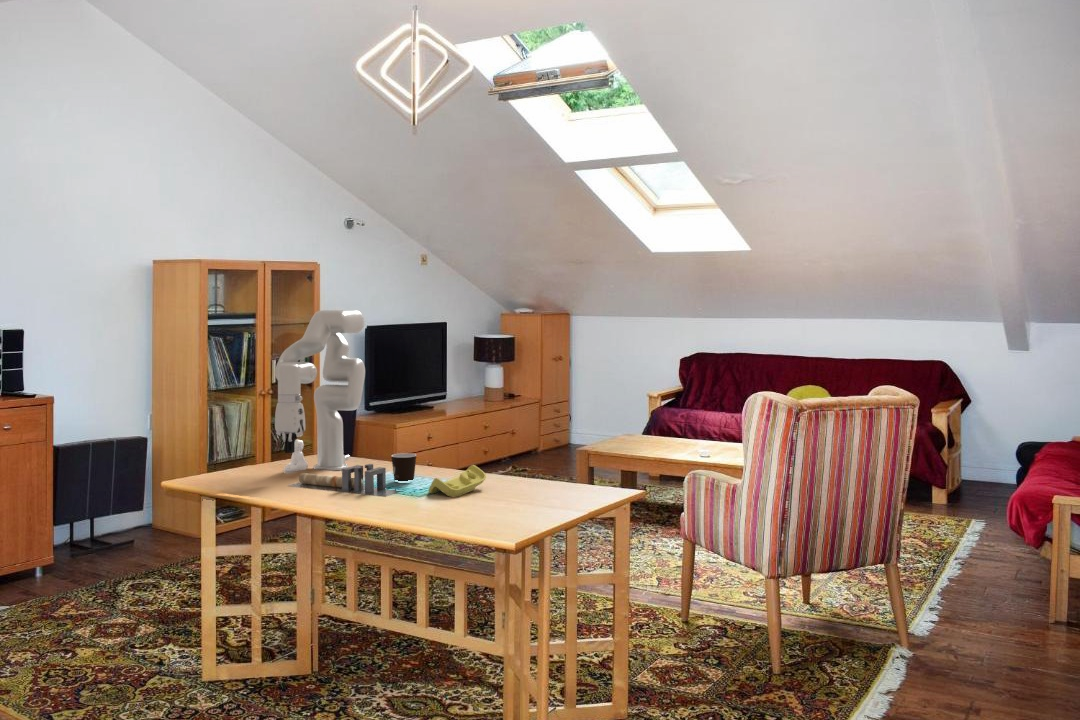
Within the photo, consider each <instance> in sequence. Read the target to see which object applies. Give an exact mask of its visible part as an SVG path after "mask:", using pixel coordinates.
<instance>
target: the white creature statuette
mask: <svg viewBox="0 0 1080 720" xmlns="http://www.w3.org/2000/svg"><path fill="white" fill-rule="evenodd" d="M304 447H305V444H304V441H303V440H301V439H298V438H297V439H296V441H295V449H294V453H291V454H292V455H291V459H290V462H288V464H285V465H284V468H283V473H284V474H285V473H288V474H292V473H295V472H299V471H305V470H307V469H308V468H309V463H308V461H307V460H306V459H305V457H304V452H303V449H304Z"/></svg>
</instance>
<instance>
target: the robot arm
mask: <svg viewBox="0 0 1080 720" xmlns="http://www.w3.org/2000/svg"><path fill="white" fill-rule="evenodd" d="M364 327H365V317H364V315H363V314H362V312H361V311H359V310H339V309H337V310H336V309H335V310H334V309H333V310H332V309H331V310H329V309H327V310H326V309H325V310H324V309H323V310H318V311H316V312H315V313H314V314H313V315H312V317H311V319H310V321H309V324H307V327H306V330H305V332H304V334H303V336H302V337H301V339H298V340H297V341H295V342H294V343H292V344H291V345H289V346H288V347H287V348H285V350H284V351H283V352H282V353H281V355H280V357H279V359H278V361H277V363H276V365H275V366H276V367H275V371H274V375H275V379H276V380H277V403H276V407H275V412H274V414H275V415H274V429H275V432H276V433H275V434H276V435H277V436H279V437H281V438H282V441H283V442H284V453H285V454H292V453H294V449H295V441H296V440H297V439H298V438H299V437H303V436H304V432H305V431H306V413H305V407H304V404H303V403H301V402H302V401H303V396H301V395H302V394H301V393H302V392H301V391H302V390H301V386H302V385H301V384H306V385H307V384H311V383H313V382H314V381H315V380H316V379H317V376H318V369H317V367H316V365H315V364H314V363H312V362H308V361H300V360H302V359H304V358H305V359H306V358H308V357H311V356H314V355H316V354H319V353H321V352H323V350H324V349H326V350H325V355H324V361H323V367H322V378H323V379H324V380H325V381H326V382H328V383H338V384H322V385H319V386H318V387H316V389H315V390H314V392H313V393H314V394H313V400H314V401H313V402H314V406H315V411H316V412H315V413H316V430H317V432H316V439H317V441H316V443H317V446H316V447H317V453H316V454H317V463H316V464H314V465H313V470H317V471H318V470H319V471H329V472H330V471H342V469H344V468H348V467H349V466H348V463H345V462H346V461H348V460H350V459H351V455H349V454H346V455H345V454H344V422H343V417H342V416H341V414H340V413H339V412H338V411H355V410H357V409H359V407H360V405H361V403H362V397H363V392H364V391H363V389H364V385H365V384H364V383H365V379H366V367H365V364H364V361H363V360H362V359H360V358H358V357H349V355H350V354H349V352H350V346H349V343H348V341H347V340H346V338H345V336H344V335H343V334H358V333H361V331H362V330H363V328H364ZM325 347H326V348H325ZM339 383H341V384H339Z"/></svg>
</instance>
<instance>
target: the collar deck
mask: <svg viewBox="0 0 1080 720" xmlns="http://www.w3.org/2000/svg"><path fill="white" fill-rule="evenodd" d="M364 469H366V470H364ZM386 471H387V470H386V467H383V466H379V467H374V463H368V464H364V465H360V464H356V465H352V466H348V467H347V468H344V469H342V470H341V477H342V488H339V487H330V486H320V485H311V484H302V483H300V482H296V483H293V484H288V485H287V487H290V488H298V489H299V488H300V489H308V490H309V489H310V490H318V491H319V490H320V491H327V492H329V491H330V492H336V493H345V494H355V495H364V496H373V497H383V498H384V497H385V498H386V497H390V496H392V495H395V494H399V493H401V492H403V491H396V490H386V489H385V488H387V484H386V478H387V477H386V473H387V472H386ZM353 473H354V474H353ZM352 474H353V478H354V489H351V478H352ZM374 476H376V487H377V488H374V487H375V482H374V479H375V478H374ZM361 479H362V480H363V481H364V485H363V487H362V489H361Z"/></svg>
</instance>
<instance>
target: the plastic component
mask: <svg viewBox="0 0 1080 720" xmlns="http://www.w3.org/2000/svg"><path fill="white" fill-rule="evenodd" d="M486 478H487V473H485V471H483V470H482V469H481V468H480V467H478V466H477V465H474V464H472V465H470V466H468V468H467V469H466V470H464V471H462V472H460V474H459V476H456V477H454V478H451V479H448V480H446V481H443V480H441V479H440V478H438V477H436V478H434V479H433V480H432V482H431V484H430V485H429V487H428V493H429V494H435V493H438V492H442V493H443V494H445V495H446V496H448V497H450V498H456V497H460V496H462V495H465V494H467V493H470V492H473V491H475V489H476V487H478V486H480V485H482V484H483V483H484V481H486Z"/></svg>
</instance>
